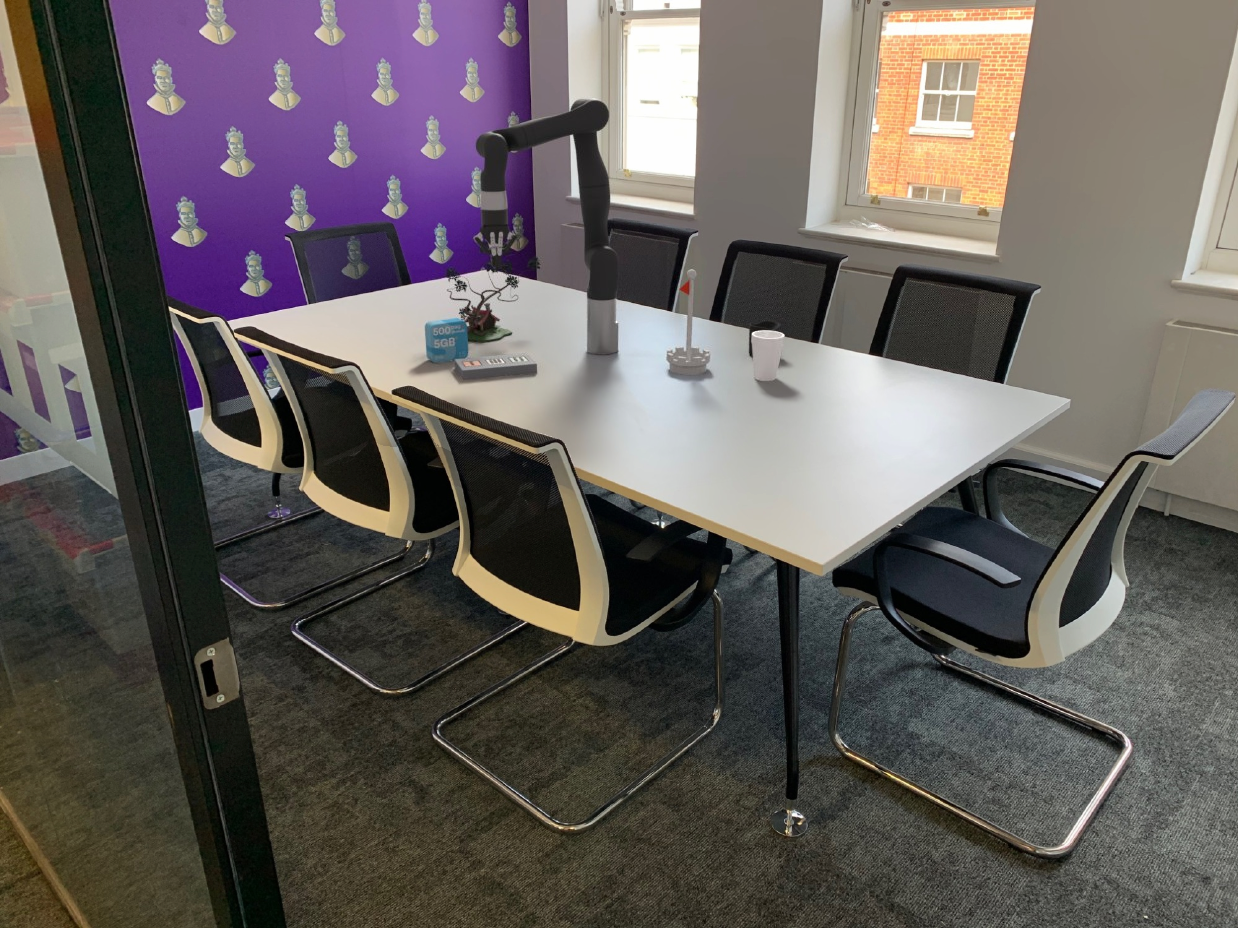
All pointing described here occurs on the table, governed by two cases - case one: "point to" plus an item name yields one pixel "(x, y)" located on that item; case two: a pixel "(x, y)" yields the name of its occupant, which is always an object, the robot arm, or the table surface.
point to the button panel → (495, 367)
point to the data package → (446, 340)
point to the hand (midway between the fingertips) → (496, 268)
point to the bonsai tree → (483, 320)
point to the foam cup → (766, 353)
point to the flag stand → (688, 341)
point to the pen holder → (759, 327)
